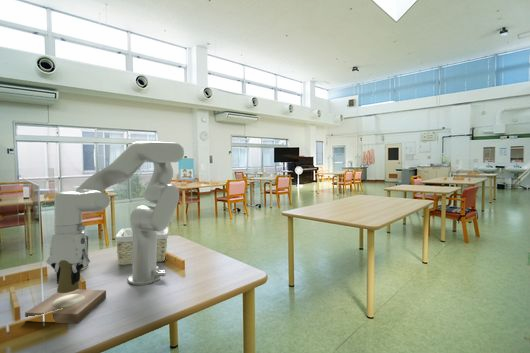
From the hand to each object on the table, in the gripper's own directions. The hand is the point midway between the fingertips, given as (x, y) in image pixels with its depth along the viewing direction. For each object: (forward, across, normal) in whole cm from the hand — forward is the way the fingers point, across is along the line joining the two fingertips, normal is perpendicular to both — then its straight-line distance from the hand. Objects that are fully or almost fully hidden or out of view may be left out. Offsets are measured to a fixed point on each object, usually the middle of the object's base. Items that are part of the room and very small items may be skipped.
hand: (68, 282), depth 94 cm
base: (+9, 0, 0) cm, 9 cm away
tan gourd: (+2, 0, 0) cm, 2 cm away
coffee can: (+9, +21, -35) cm, 42 cm away
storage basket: (+9, -5, -49) cm, 50 cm away
